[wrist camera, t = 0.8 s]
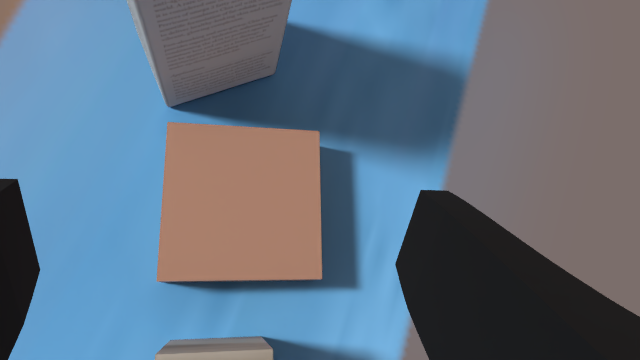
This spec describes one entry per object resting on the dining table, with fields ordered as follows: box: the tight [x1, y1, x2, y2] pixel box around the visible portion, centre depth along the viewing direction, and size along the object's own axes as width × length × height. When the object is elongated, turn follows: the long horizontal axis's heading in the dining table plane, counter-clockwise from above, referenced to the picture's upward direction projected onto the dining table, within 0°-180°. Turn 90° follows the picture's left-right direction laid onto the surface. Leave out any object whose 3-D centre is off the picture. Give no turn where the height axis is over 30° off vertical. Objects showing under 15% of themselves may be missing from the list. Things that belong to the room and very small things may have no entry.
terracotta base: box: [157, 122, 322, 282], centre depth 21 cm, size 7×7×2 cm
